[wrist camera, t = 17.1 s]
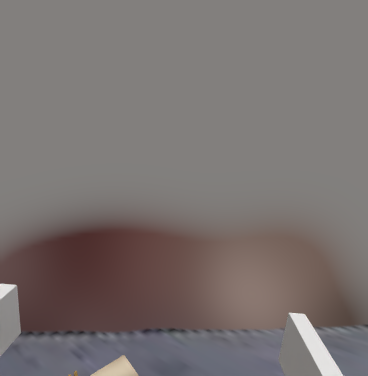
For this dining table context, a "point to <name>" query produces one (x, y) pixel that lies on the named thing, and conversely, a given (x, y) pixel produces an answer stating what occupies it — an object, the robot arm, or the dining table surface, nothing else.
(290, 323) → the robot arm
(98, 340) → the dining table surface
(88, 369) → the dining table surface
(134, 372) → the ring collar board
